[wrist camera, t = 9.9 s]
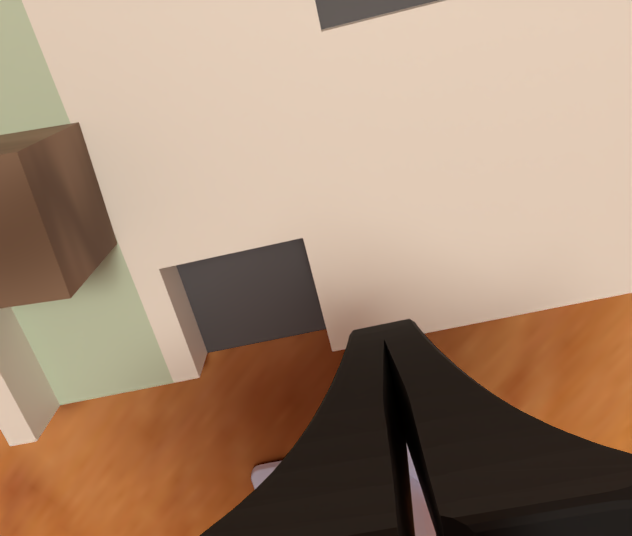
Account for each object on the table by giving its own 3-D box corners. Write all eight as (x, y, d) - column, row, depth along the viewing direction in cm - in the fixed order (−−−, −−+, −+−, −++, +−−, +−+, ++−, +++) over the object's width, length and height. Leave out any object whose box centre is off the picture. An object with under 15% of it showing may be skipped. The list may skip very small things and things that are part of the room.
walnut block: (117, 243, 19) (70, 298, 16) (2, 260, 20) (-71, 318, 16) (79, 122, 18) (16, 152, 14) (-46, 142, 18) (-139, 177, 14)
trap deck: (701, 249, 22) (780, 298, 18) (57, 379, 24) (10, 446, 20) (722, -258, 16) (846, -340, 12) (-139, -18, 18) (-256, -24, 14)
